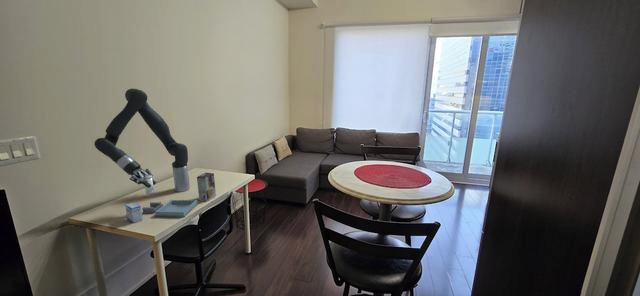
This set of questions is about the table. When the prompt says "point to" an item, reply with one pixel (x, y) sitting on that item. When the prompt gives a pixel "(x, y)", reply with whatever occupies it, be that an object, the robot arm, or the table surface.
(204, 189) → the coffee box
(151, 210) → the holder
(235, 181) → the table surface
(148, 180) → the white dome cap bottle
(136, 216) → the medicine box
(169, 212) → the parts tray
